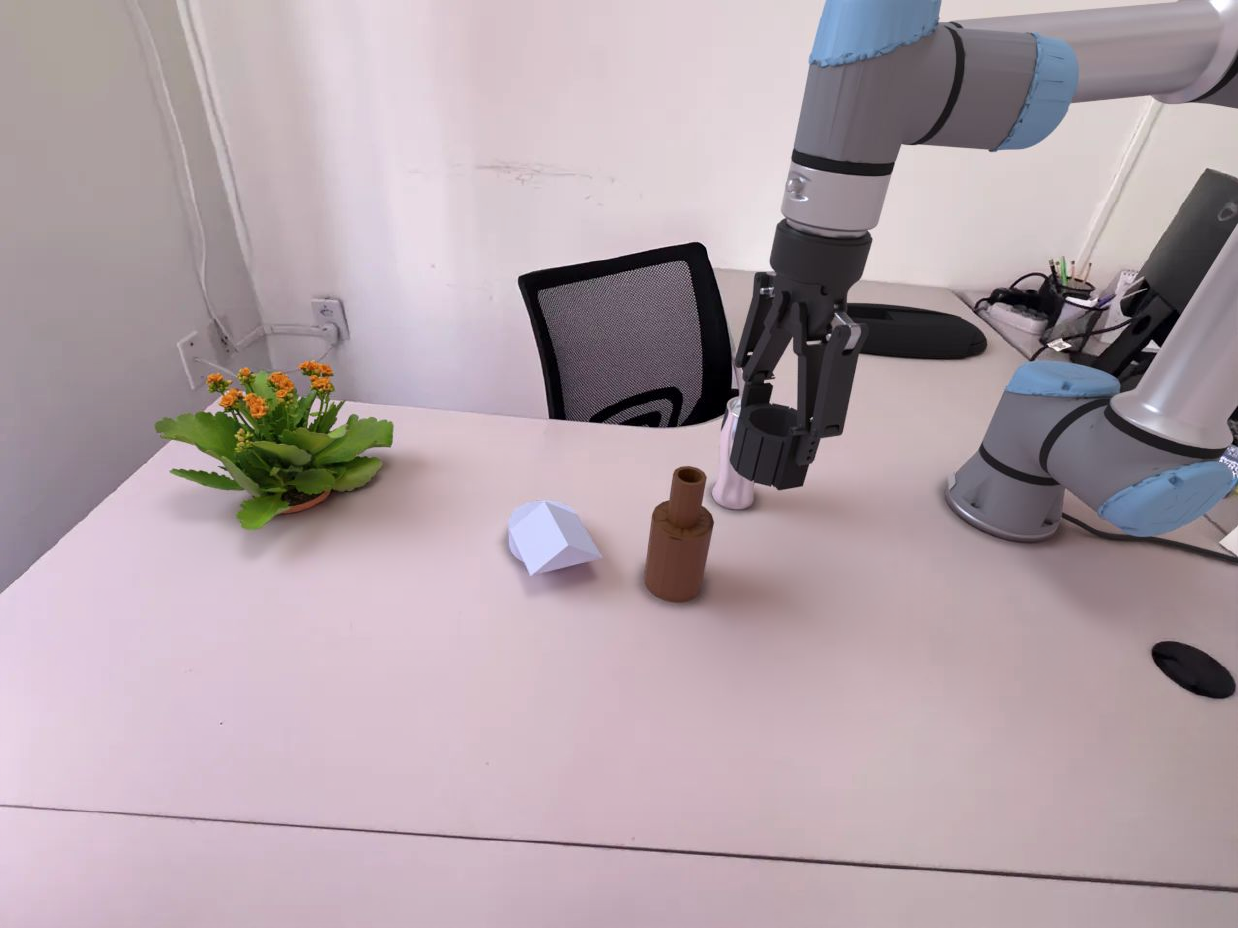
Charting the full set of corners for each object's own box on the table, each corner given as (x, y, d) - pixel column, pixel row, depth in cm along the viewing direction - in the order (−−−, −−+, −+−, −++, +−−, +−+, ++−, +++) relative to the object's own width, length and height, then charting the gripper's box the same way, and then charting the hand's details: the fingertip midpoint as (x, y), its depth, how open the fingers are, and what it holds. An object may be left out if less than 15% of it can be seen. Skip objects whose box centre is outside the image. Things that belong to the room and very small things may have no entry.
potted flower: (337, 566, 78) (307, 444, 68) (141, 549, 78) (83, 425, 68) (404, 452, 99) (389, 345, 89) (249, 438, 99) (217, 330, 89)
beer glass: (755, 515, 92) (777, 425, 83) (706, 507, 93) (723, 416, 84) (757, 487, 97) (778, 399, 89) (710, 479, 98) (727, 391, 90)
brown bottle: (706, 569, 82) (727, 465, 73) (694, 608, 76) (715, 501, 67) (653, 555, 84) (667, 451, 74) (637, 592, 78) (650, 485, 69)
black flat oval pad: (1006, 365, 141) (1016, 344, 138) (822, 352, 140) (827, 330, 137) (959, 321, 162) (966, 301, 159) (797, 309, 160) (802, 289, 158)
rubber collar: (805, 454, 67) (817, 412, 64) (800, 493, 61) (813, 449, 58) (735, 439, 68) (744, 397, 65) (724, 475, 62) (734, 431, 60)
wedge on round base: (601, 577, 80) (565, 514, 89) (604, 536, 76) (566, 474, 85) (530, 596, 76) (500, 528, 86) (530, 554, 72) (499, 487, 82)
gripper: (724, 194, 58) (689, 415, 71) (867, 267, 43) (789, 534, 55) (796, 193, 60) (749, 408, 73) (956, 263, 45) (861, 519, 58)
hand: (766, 462), depth 64 cm, fingers closed on rubber collar, 7 cm apart
